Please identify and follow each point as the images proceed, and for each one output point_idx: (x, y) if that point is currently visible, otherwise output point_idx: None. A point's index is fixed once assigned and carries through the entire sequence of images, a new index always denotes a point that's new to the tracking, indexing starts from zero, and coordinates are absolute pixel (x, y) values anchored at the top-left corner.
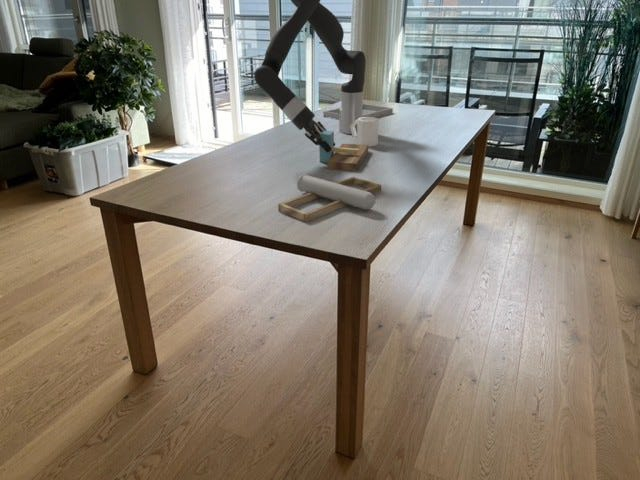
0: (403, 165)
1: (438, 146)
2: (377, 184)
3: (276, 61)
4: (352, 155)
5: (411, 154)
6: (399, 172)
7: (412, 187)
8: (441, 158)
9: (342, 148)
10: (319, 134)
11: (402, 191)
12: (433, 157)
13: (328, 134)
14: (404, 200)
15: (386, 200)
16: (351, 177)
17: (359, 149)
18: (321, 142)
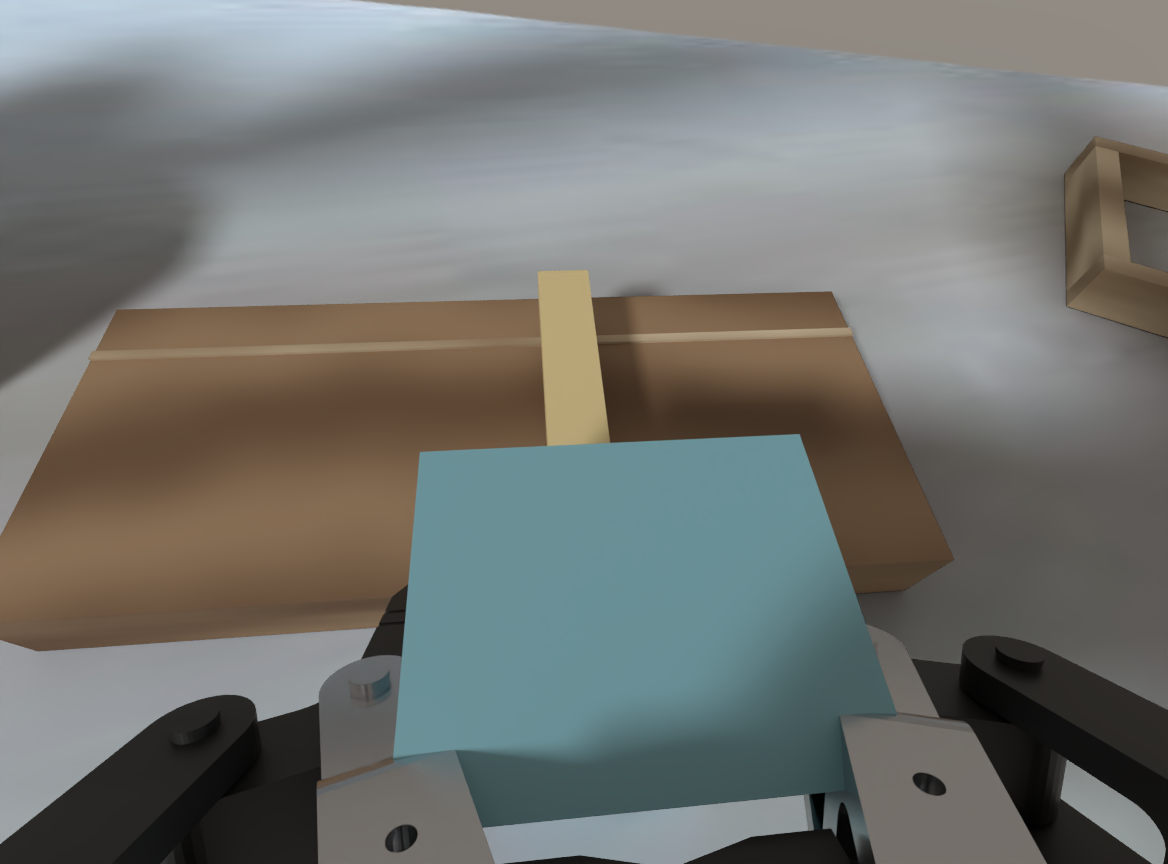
0: (546, 135)
1: (72, 36)
2: (1108, 149)
3: None
4: None
5: (272, 119)
6: (697, 139)
7: (901, 89)
8: (358, 26)
9: (583, 428)
10: (963, 752)
11: (985, 111)
12: (340, 47)
13: (803, 484)
14: (1086, 100)
15: (1155, 146)
16: (1131, 276)
17: (331, 349)
18: (923, 674)
